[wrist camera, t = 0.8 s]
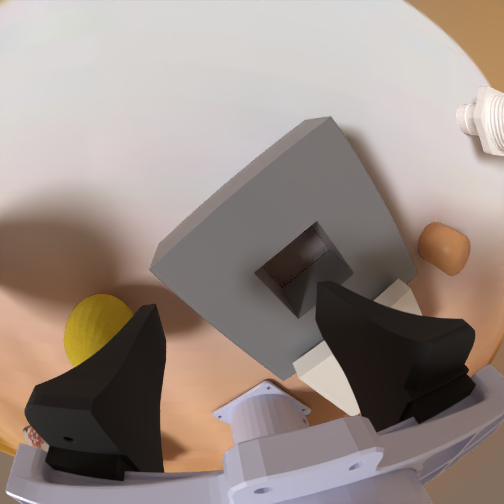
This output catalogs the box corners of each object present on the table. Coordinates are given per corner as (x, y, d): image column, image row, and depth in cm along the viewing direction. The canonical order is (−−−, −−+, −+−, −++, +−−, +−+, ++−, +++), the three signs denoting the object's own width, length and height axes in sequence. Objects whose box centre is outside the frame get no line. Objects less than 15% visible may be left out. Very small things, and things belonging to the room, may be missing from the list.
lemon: (150, 288, 22) (133, 356, 14) (138, 339, 23) (123, 408, 16) (88, 267, 20) (47, 325, 13) (82, 320, 22) (51, 382, 15)
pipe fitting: (465, 78, 19) (523, 77, 11) (486, 137, 22) (541, 148, 14) (436, 98, 19) (502, 98, 12) (460, 162, 22) (521, 178, 15)
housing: (413, 302, 27) (437, 324, 23) (313, 381, 29) (327, 411, 25) (305, 120, 19) (331, 116, 15) (158, 244, 21) (149, 270, 16)
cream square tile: (427, 342, 23) (436, 351, 21) (346, 405, 24) (352, 417, 23) (398, 278, 19) (410, 288, 17) (292, 363, 20) (298, 377, 19)
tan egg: (448, 242, 25) (472, 256, 22) (424, 266, 26) (448, 283, 22) (438, 214, 24) (465, 226, 20) (413, 239, 24) (440, 255, 21)
